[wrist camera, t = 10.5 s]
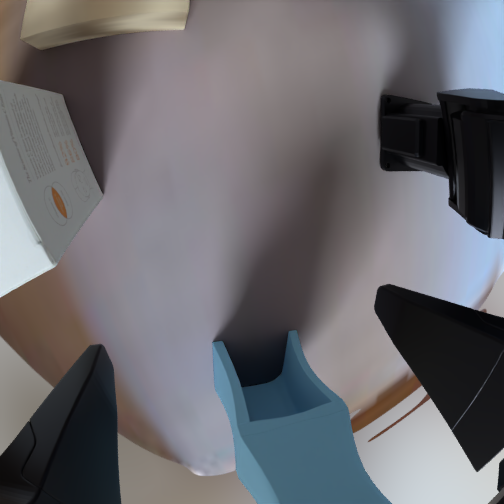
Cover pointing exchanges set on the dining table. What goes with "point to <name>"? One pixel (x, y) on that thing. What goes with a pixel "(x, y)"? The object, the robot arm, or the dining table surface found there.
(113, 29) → the cream square block
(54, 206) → the small box
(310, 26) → the dining table surface
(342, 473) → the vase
